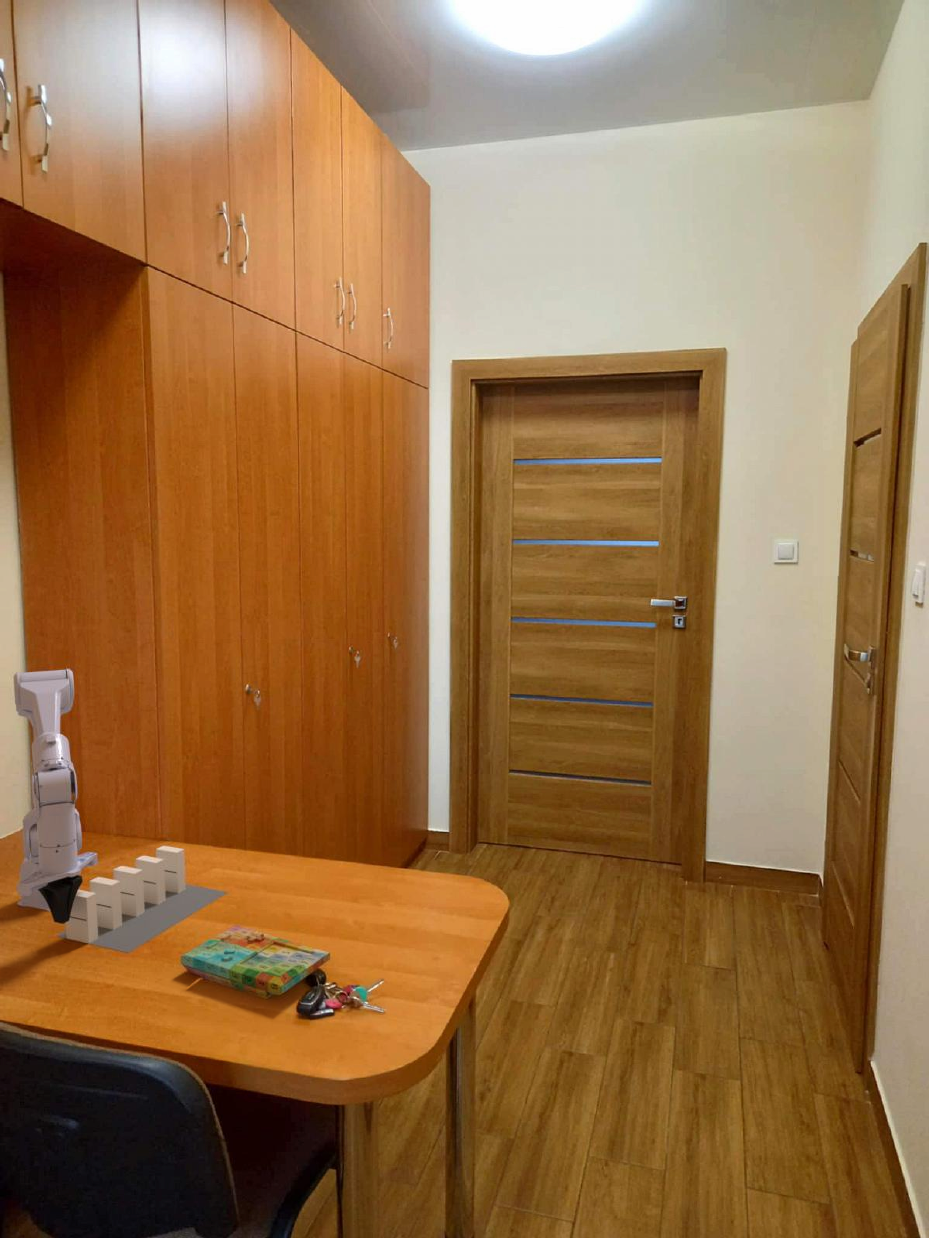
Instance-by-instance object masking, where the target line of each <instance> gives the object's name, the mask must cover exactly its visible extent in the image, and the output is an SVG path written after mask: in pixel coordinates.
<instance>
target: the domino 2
mask: <svg viewBox="0 0 929 1238" xmlns="http://www.w3.org/2000/svg"><path fill="white" fill-rule="evenodd" d="M89 892H93V893H96V905H97V925H98V926H99V927H104V928H108V929H112V930H114V929H116V928H118V927H119V926H121V925H122V910H121V889H120V881H117V880H114V879H111V878H106V877H101V876H97V877H95V878H93V879H91V880H89Z"/></svg>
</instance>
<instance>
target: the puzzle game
mask: <svg viewBox="0 0 929 1238" xmlns="http://www.w3.org/2000/svg"><path fill="white" fill-rule="evenodd" d="M330 960H331V952H329V951H325V950H321V949H317V948H314V947H310V946H307V945H306V944H305V945H304V944H301V943H298V942H295V941H291V940H287V939H283V938H281V937H277V936H275V935H271V934H268V933H263V932H260V931H256V930H254V929H251V928H246V927H243V926H240V925H234V926H232V927H230V928H228V929H226V930H224V931H223V932H221V933H219V934H218V935H216V936H214V937H212V938H211V939H208V940H207V941H205V942H203V943H201V944H199V945H198V946H196V947H195V948H193V949H191V950H189V951H188V952H186V953H184V954H182V955H180V962H181V965H182V966H183V967H184V968H185V970H186V971H187V972H189V973H190V974H193V975H197V976H199V978H201V979H203V980H205V981H206V980H207V981H210V982H214V983H215V984H219V985H222V986H225V987H228V988H231V989H234V990H238V991H240V992H243V993H246V994H247V993H248V994H250V995H252V996H256V997H259V998H263V999H264V1000H265V999H266V1000H268V999H269V998H270V997H272V996H273V995H275V996H280V995H282V994H283V993H286V991H288V990H289V989H291V988H292V987H294V986H295V985H296V984H298V983H299V982H301V981H302V980H303V979H305V978H306V977H308V976H309V975H310V974H312V973H314V972H315V971H316V970H317V969H319V968H320V967H321V966H323V965H324V964H326V963H327V962H329V961H330Z"/></svg>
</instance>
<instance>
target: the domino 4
mask: <svg viewBox="0 0 929 1238" xmlns="http://www.w3.org/2000/svg"><path fill="white" fill-rule="evenodd" d="M135 868H136V869H141V870H143V886H144V902H147V903H152V904H157V905H159V904H160V903H162V902H164V901H166V896H165V872H164V859H160V858H157V857H155V856H154V857H153V856H148V855H141V856H139V857H137V858H135Z"/></svg>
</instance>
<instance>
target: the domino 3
mask: <svg viewBox="0 0 929 1238" xmlns="http://www.w3.org/2000/svg"><path fill="white" fill-rule="evenodd" d="M112 873H113V880H117V881H120V889H121V910H122V914H126V915H131V916H135V917H137V916H139V915H141V914H143V913H144V912H145V909H144V886H143V870H141V869H136V867H130V866H126V865H120V866H118V867H116V868H114V869H113V870H112Z"/></svg>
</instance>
